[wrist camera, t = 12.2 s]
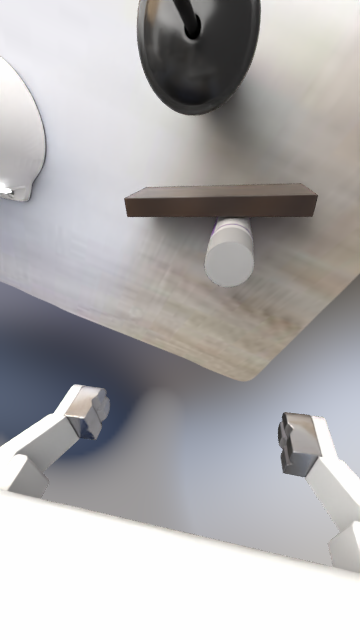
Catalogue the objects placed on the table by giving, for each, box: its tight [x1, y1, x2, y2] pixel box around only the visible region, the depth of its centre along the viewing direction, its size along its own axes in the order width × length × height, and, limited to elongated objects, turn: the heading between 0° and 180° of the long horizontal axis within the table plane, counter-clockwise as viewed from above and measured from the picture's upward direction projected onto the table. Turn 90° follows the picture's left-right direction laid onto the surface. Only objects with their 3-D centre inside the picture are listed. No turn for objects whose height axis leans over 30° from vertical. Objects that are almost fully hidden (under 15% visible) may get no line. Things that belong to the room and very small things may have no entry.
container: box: [204, 217, 254, 287], centre depth 28 cm, size 5×5×15 cm
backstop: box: [124, 183, 318, 217], centre depth 29 cm, size 20×2×8 cm, turn 93°
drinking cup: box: [137, 0, 261, 116], centre depth 18 cm, size 8×8×20 cm
